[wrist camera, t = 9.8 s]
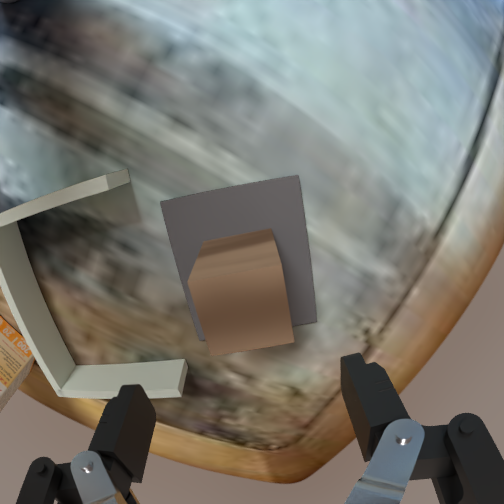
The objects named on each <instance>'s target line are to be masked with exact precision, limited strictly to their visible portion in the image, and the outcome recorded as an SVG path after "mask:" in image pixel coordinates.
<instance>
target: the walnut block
mask: <svg viewBox="0 0 504 504" xmlns="http://www.w3.org/2000/svg"><path fill="white" fill-rule="evenodd" d="M188 286H189V289H190V292H191V296H192V299H193V302H194V305H195V308H196V312H197V315H198V318H199V321H200V324H201V327H202V330H203V333H204V336H205V339H206V342H207V345H208V348H209V351H210V354H211V356H214V355H221V354H228V353H235V352H242V351H248V350H254V349H260V348H266V347H272V346H277V345H282V344H288V343H293V342H294V336H293V330H292V324H291V317H290V311H289V305H288V299H287V293H286V287H285V281H284V275H283V270H282V264H281V261H280V257H279V254H278V250H277V247H276V243H275V240H274V236H273V233H272V229H271V228H269V229H264V230H259V231H254V232H249V233H243V234H238V235H233V236H228V237H223V238H218V239H213V240H208V241H204V242H203V244H202V247H201V249H200V251H199V254H198V256H197V259H196V261H195V264H194V266H193V269H192V271H191V274H190V276H189V279H188Z"/></svg>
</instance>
